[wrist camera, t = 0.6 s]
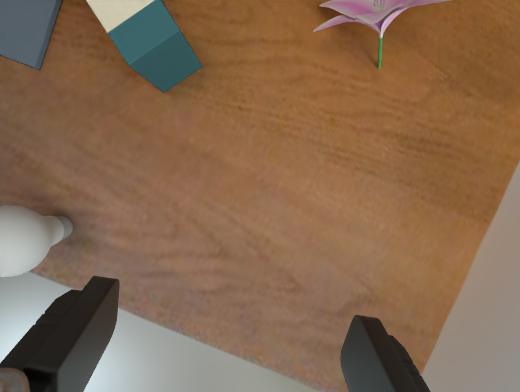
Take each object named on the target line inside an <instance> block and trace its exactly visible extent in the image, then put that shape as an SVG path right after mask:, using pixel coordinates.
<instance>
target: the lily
mask: <svg viewBox="0 0 520 392" xmlns="http://www.w3.org/2000/svg"><path fill="white" fill-rule="evenodd" d="M443 1H450V0H332V1H328V2H326V3H323V4H321V5H319V6H321V7H328V8H331V9H334V10H336V11H338V12H340V13H342V14H344V15H340V16H337V17H334V18H332V19H330V20H328V21H327V22H325V23H323V24H322V25H320V26H319V27H317V28H316V29H315V30H314V31H313V32H315V31H318V30H321V29H324V28H327V27H330V26H334V25H337V24H340V23H344V22H351V21H354V22H359V23H362V24H365V25H367V26H369V27H371V28H373V29H375V30H376V31H377V32H378V33H379V54H378V68H380V67H381V55H382V38H383V33H384V31H385V29H386V28H387V26H388V25H389V24H390V23H391V22H392V21H393V19H394V18H395V17H396V16H398V15H399V14H400V13H401V12H403V11H404V10H406V9H407V8H409V7H413V6H418V5H424V4H429V3H436V2H443Z"/></svg>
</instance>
